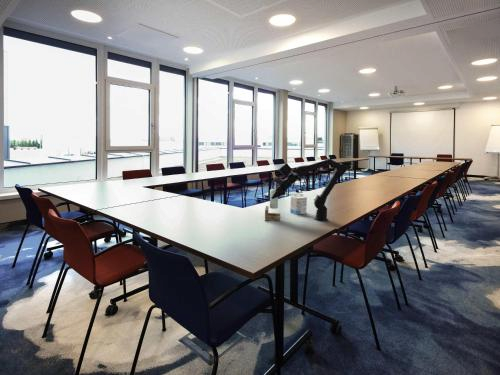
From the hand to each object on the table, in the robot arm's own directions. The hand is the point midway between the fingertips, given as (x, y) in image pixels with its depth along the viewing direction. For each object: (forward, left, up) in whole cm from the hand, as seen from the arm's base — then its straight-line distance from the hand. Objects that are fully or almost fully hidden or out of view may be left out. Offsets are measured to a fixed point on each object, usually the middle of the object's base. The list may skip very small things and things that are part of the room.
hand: (271, 197), depth 199 cm
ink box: (+4, -26, -14) cm, 29 cm away
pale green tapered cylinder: (-1, -1, -7) cm, 7 cm away
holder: (-1, -1, -14) cm, 14 cm away
